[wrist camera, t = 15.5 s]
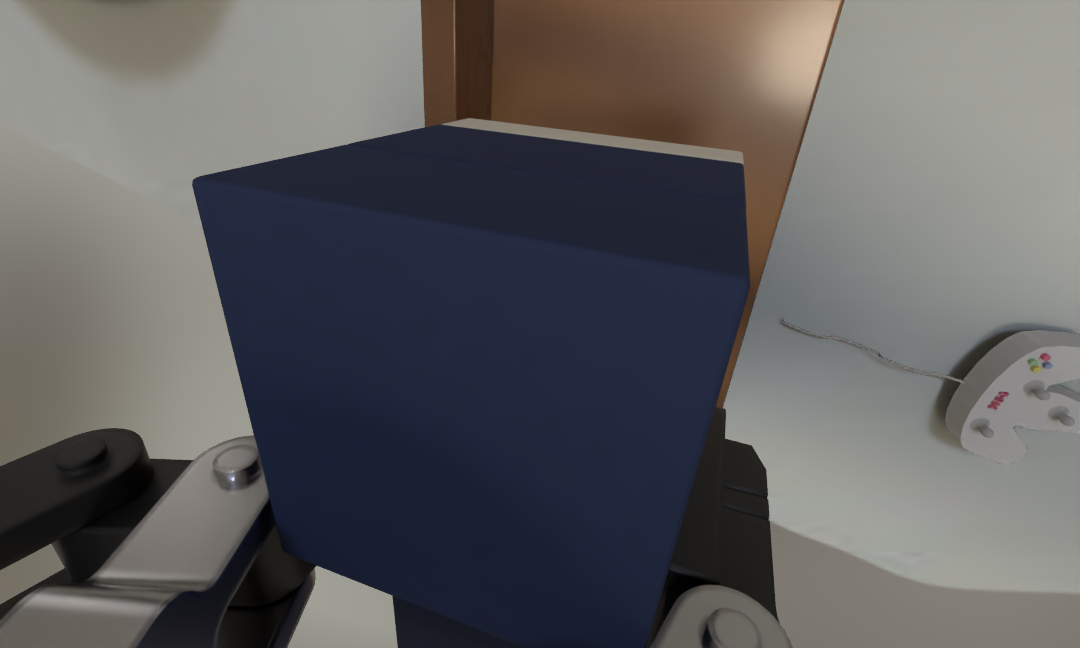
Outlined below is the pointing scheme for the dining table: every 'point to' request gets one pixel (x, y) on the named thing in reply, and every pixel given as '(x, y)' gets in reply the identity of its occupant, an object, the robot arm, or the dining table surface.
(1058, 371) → the game controller
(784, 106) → the shelf
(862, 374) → the dining table surface
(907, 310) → the dining table surface
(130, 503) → the robot arm
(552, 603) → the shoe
